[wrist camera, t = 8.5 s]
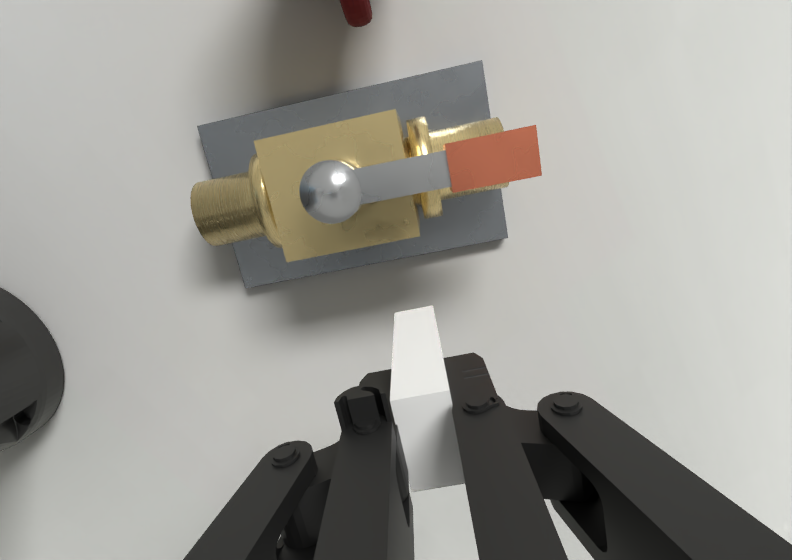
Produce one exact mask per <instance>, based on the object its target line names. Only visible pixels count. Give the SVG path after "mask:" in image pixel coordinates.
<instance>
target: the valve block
mask: <svg viewBox="0 0 792 560" xmlns="http://www.w3.org/2000/svg"><path fill="white" fill-rule="evenodd" d="M197 128H198V131H199V134H200V138H201V141H202V144H203V148H204V151H205V154H206V158H207V161H208V164H209V168H210V171H211V174H212V178H213V179H212V180H207V181H202V182H198V183H196V184H195V185H194V186H193V188H192V191H191V209H192V214H193V217H194V221H195V223H196V226H197V228H198V230H199V232H200V233H201V235H202V236H203V238H204V239H205V240H206V241H207V242H208V243H209V244H211V245H213V246H219V245H224V244H229V243H232V244H233V248H234V251H235V254H236V258H237V261H238V264H239V268H240V271H241V274H242V278H243V281H244V284H245V288H249V287H254V286H260V285H265V284H270V283H275V282H280V281H286V280H291V279H296V278H301V277H306V276H312V275H317V274H322V273H327V272H332V271H338V270H343V269H348V268H353V267H358V266H364V265H369V264H374V263H379V262H384V261H390V260H395V259H400V258H405V257H410V256H416V255H421V254H426V253H431V252H436V251H442V250H447V249H452V248H457V247H462V246H468V245H473V244H478V243H483V242H488V241H494V240H499V239H504V238H508V234H507V227H506V220H505V213H504V207H503V200H502V193H501V188H505V187H508V185H509V182H506V183H501V184H496V185H491V186H485V187H480V188H475V189H470V190H465V191H460V192H455V193H453V192H452V191H451V190H450V187H448V188H442V189H437V190H432V191H427V192H422V193H417V194H412V195H407V196H402V197H397V198H392V199H387V200H382V201H377V202H372V203H367V204H363V205H362V206H361V208H360V209H359V210H358V211H357V212H356V213H355V214H354V215H352V216H351V217H350V218H349V219H347V220H345V221H343V222H340V223H336V224H328V223H323V222H320V221H318V220H316V219H314V218H313V217H312V216H311V215H309V214H308V212H307V211H306V210H305V208H304V207H303V205H302V202H301V199H300V193H299V188H300V182H301V179H302V177H303V175H304V173H305V172H306V171H307V170H308V169H309V168H310V167H311V166H312V165H314V164H315V163H318V162H321V161H325V160H343V161H347V162H349V163H351V164H353V165H354V166H355V167H357V168H362V167H367V166H371V165H376V164H381V163H386V162H391V161H396V160H400V159H405V158H410V157H415V156H420V155H425V154H430V153H434V152H439V151H443V145H444V144H446V143H451V142H456V141H461V140H466V139H470V138H475V137H480V136H485V135H490V134H495V133H499V132H504V131H503V127H502V124H501V122H500V120H499V118H497V117H496V118H490V111H489V104H488V97H487V90H486V83H485V77H484V70H483V63H482V60H481V61H477V62H472V63H468V64H464V65H459V66H455V67H451V68H447V69H442V70H438V71H434V72H429V73H425V74H421V75H416V76H412V77H408V78H403V79H399V80H395V81H390V82H386V83H382V84H377V85H373V86H369V87H364V88H360V89H356V90H351V91H347V92H343V93H338V94H334V95H330V96H325V97H321V98H317V99H312V100H308V101H304V102H299V103H295V104H291V105H286V106H282V107H278V108H273V109H269V110H265V111H260V112H256V113H252V114H248V115H243V116H239V117H235V118H230V119H226V120H222V121H217V122H213V123H209V124H204V125H200V126H197Z"/></svg>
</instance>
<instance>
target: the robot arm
mask: <svg viewBox="0 0 792 560" xmlns="http://www.w3.org/2000/svg"><path fill="white" fill-rule="evenodd" d="M63 384H64V375H63V366H62V362H61V358H60V354H59V351H58V349H57V346H56V344H55V342H54V340H53V338H52V336H51V334H50V333H49V331H48V330H47V328H46V327H45V325H44V324H43V323H42V321H41V320H40V319H39V318H38V316H37V315H36V314H35V313H34V312H33V311H32V310H31V309H30V308H29V307H28V306H27V305H25V304H24V303H23V302H22V301H21V300H19V299H18V298H17V297H15V296H14V295H12V294H11V293H9V292H7V291H6V290H4V289H2V288H0V451H2V450H5V449H7V448H9V447H11V446H13V445H15V444H17V443H19V442H20V441H22V440H23V439H25V438H26V437H28V436H29V435H30V434H32V433H33V432H35V431H36V430H37V429H39V428H40V427H42V426H43V425H44V424H45V423H46V422H47V421H48V420H49V419H50V418H51V417H52V415H53V414H54V412H55V411H56V409H57V407H58V405H59V402H60V400H61V396H62V392H63ZM334 404H335V408H336V412H337V415H338V419H339V422H340V426H341V430H342V432H341V436H340V441H338V442H336V443H335V444H333V445H331V446H329V447H326V448H324V449H321V450H318V451H316V452H313V450H312V447H311V445H310V444H309V443H307V442H305V441H292V442H286V443H284V444H281V445H278V446H277V447H276V448H274V449H272V450H271V451H269V452H268V453H267V454H266V455H265V456H264V457H263V458H262V459H261V460H260V462H259V463H258V464H257V466H256V467H255V468H254V469H253V471H252V472H251V473H250V475H249V476H248V477H247V478H246V480H245V481H244V482H243V484H242V485H241V486H240V487H239V489H238V490H237V491H236V493H235V494H234V495H233V496H232V498H231V499H230V500H229V502H228V503H227V504H226V505H225V507H224V508H223V509H222V511H221V512H220V513H219V514H218V516H217V517H216V518H215V520H214V521H213V522H212V523H211V525H210V526H209V527H208V529H207V530H206V531H205V532H204V534H203V535H202V536H201V537H200V539H199V540H198V541H197V543H196V544H195V545H194V546H193V548H192V549H191V550H190V552H189V553H188V554H187V555H186V557H185V558H184V559H183V560H414V533H413V506H412V502H411V498H410V493H409V483H410V487H411V492H416V491H422V490H428V489H434V488H440V487H446V486H452V485H458V484H464V483H465V485H466V490H467V495H468V501H469V506H470V512H471V517H472V522H473V528H474V533H475V539H476V544H477V549H478V555H479V560H568V558H567V556H566V553H565V551H564V548H563V546H562V543H561V541H560V538H559V536H558V534H557V531H556V529H555V526H554V524H553V521H552V519H551V516H550V514H549V511H548V509H547V506H546V504H545V501H544V499H550V500H551V503H552V505H553V507H554V509H555V510H556V512H557V513H558V514H559V515H560V517H561V518H562V519H563V521H564V522H565V523H566V524H567V526H568V527H569V528H570V529H571V531H572V532H573V533H574V534H575V536H576V537H577V538H578V539H579V541H580V542H581V543H582V544H583V546H584V547H585V548H586V550H587V551H588V552H589V553H590V555H591V556H592V557H593V558H594V560H792V545H791V544H790V543H789V542H787V541H786V540H784V539H783V538H782V537H780V536H779V535H778V534H776V533H775V532H774V531H772V530H771V529H769V528H768V527H767V526H765V525H764V524H763V523H761V522H760V521H758V520H757V519H756V518H754V517H753V516H752V515H750V514H749V513H748V512H746V511H745V510H743V509H742V508H741V507H739V506H738V505H737V504H735V503H734V502H733V501H731V500H730V499H728V498H727V497H726V496H724V495H723V494H722V493H720V492H719V491H717V490H716V489H715V488H713V487H712V486H711V485H709V484H708V483H707V482H705V481H704V480H702V479H701V478H700V477H698V476H697V475H696V474H694V473H693V472H691V471H690V470H689V469H687V468H686V467H685V466H683V465H682V464H681V463H679V462H678V461H676V460H675V459H674V458H672V457H671V456H670V455H668V454H667V453H666V452H664V451H663V450H661V449H660V448H659V447H657V446H656V445H655V444H653V443H652V442H650V441H649V440H648V439H646V438H645V437H644V436H642V435H641V434H640V433H638V432H637V431H635V430H634V429H633V428H631V427H630V426H629V425H627V424H626V423H625V422H623V421H622V420H620V419H619V418H618V417H616V416H615V415H614V414H612V413H611V412H609V411H608V410H607V409H605V408H604V407H603V406H601V405H600V404H599V403H597V402H596V401H594V400H593V399H592V398H590V397H588V396H586V395H584V394H580V393H575V392H558V393H554V394H550V395H548V396H546V397H544V398H542V399H541V401H540V402H539V403H538V407H537V411H530V410H518V409H514V408H511V407H508V406H506V405H505V403H504V401H503V400H502V398H501V397H500V396H498V395H497V393H496V391H495V388H494V386H493V383H492V380H491V378H490V375H489V373H488V370H487V368H486V365H485V363H484V360H483V358H482V357H480V356H478V355H477V354H475V353H469V354H463V355H458V356H453V357H447V358H443V354H442V349H441V344H440V339H439V334H438V329H437V324H436V319H435V314H434V309H433V305H432V306H427V307H421V308H416V309H411V310H406V311H401V312H396V313H395V315H394V334H393V352H392V369H389V370H384V371H379V372H373V373H368V374H367V375H366V376H365V377H364V378H363V379H362V380H361V382H360V384H359V386H356V387H353V388H350V389H348V390H346V391H344V392H343V393H342V394H340V395H339V396H338V397H337V398H336V400H335V402H334ZM280 534H281V537H280ZM279 537H280V539H279ZM278 539H279V540H278Z"/></svg>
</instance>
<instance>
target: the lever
mask: <svg viewBox="0 0 792 560" xmlns="http://www.w3.org/2000/svg"><path fill="white" fill-rule="evenodd" d="M541 175H542V173H541V164H540V155H539V147H538V138H537V130H536V125H533V126H528V127H523V128H519V129H514V130H509V131H504V132H499V133H495V134H490V135H485V136H480V137H475V138H470V139H466V140H461V141H456V142H451V143H446V144H444V145H443V151H439V152H434V153H430V154H425V155H420V156H415V157H410V158H405V159H400V160H396V161H391V162H386V163H381V164H376V165H371V166H367V167H362V168H357V167H355V166H354V165H353V164H351V163H349V162H347V161H343V160H325V161H321V162H318V163H315V164H314V165H312V166H311V167H310V168H309V169H308V170H307V171H306V172H305V173H304V175H303V177H302V179H301V182H300V188H299V193H300V199H301V202H302V205H303V207H304V208H305V210H306V211H307V212H308V214H309V215H311V216H312V217H313V218H314V219H316V220H318V221H320V222H323V223H328V224H336V223H340V222H343V221H345V220H347V219H349V218H350V217H351V216H352V215H354V214H355V213H356V212H357V211H358V210H359V209H360V208H361V206H362V205H363V204H367V203H372V202H377V201H382V200H387V199H392V198H397V197H402V196H407V195H412V194H417V193H422V192H427V191H432V190H437V189H442V188H448V187H450V190H451V191H452V192H453V193H455V192H460V191H465V190H470V189H475V188H480V187H485V186H491V185H496V184H501V183H506V182H511V181H516V180H521V179H526V178H531V177H536V176H541Z"/></svg>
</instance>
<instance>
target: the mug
mask: <svg viewBox="0 0 792 560" xmlns="http://www.w3.org/2000/svg"><path fill="white" fill-rule="evenodd" d="M340 3H341V6H342V9H343V12H344V15H345V18H346V20H347V22H348V24H349V25H351V26H353V27H362V26H364V25H367V24H368V23H369V22H370V21H371V19H372V11H371V6H370V1H369V0H340Z"/></svg>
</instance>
